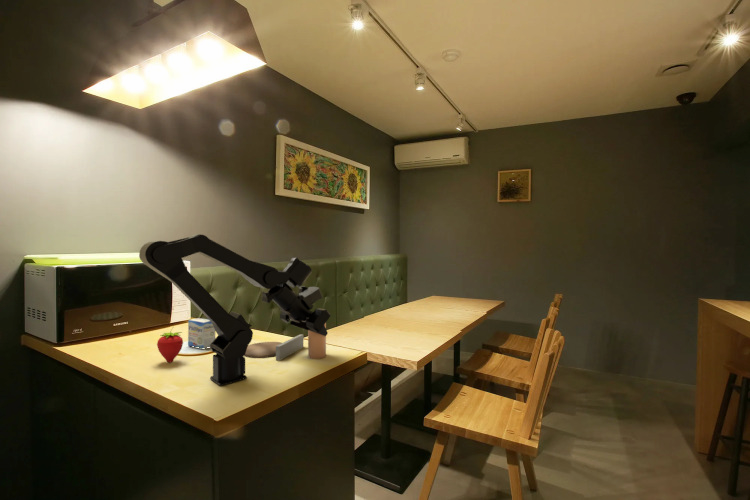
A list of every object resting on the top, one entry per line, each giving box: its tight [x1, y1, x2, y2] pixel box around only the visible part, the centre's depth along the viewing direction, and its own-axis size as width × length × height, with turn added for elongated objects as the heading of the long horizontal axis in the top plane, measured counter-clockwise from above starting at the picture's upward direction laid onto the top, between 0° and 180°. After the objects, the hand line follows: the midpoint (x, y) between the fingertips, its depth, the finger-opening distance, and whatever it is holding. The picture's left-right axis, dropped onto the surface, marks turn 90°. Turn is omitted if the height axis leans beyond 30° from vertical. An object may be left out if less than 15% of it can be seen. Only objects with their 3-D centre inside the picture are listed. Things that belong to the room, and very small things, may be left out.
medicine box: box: [187, 317, 216, 348], centre depth 114 cm, size 8×4×9 cm, turn 62°
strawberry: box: [156, 326, 184, 364], centre depth 98 cm, size 6×8×10 cm
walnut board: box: [243, 341, 282, 359], centre depth 109 cm, size 14×14×1 cm
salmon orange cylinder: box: [307, 322, 327, 360], centre depth 104 cm, size 5×5×11 cm
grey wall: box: [275, 334, 304, 361], centre depth 106 cm, size 14×1×4 cm, turn 163°
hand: (320, 332), depth 105 cm, fingers closed on salmon orange cylinder, 5 cm apart
